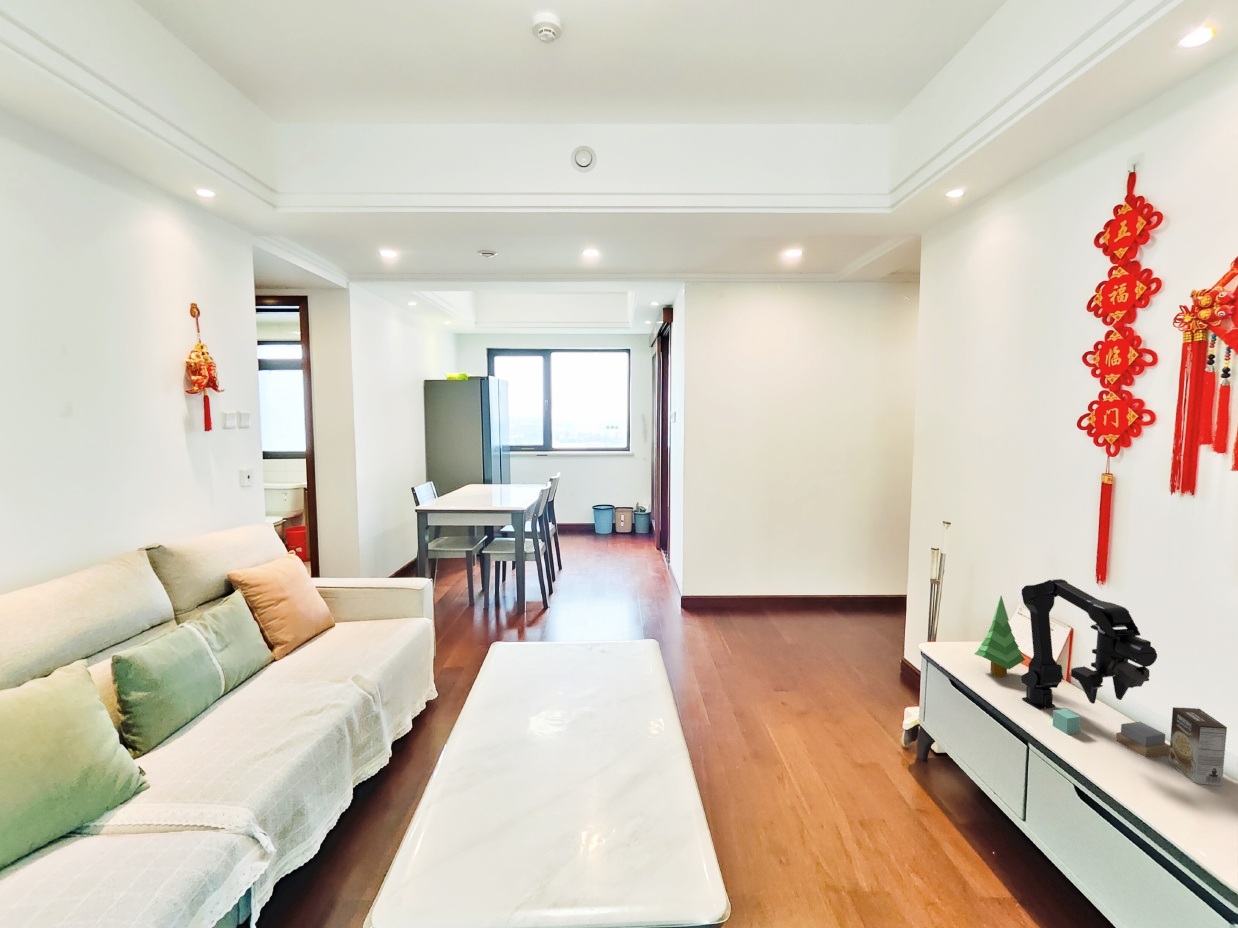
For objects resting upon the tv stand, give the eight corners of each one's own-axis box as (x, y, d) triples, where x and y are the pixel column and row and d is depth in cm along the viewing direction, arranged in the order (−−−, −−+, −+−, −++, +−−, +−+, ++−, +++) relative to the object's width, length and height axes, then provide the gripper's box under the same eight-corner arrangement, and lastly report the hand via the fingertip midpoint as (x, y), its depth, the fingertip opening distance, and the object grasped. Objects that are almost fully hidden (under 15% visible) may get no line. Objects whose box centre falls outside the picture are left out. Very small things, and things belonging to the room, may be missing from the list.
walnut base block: (1115, 742, 161) (1116, 732, 160) (1138, 739, 162) (1139, 729, 162) (1145, 759, 153) (1146, 748, 153) (1169, 755, 154) (1170, 745, 154)
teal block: (1052, 725, 169) (1053, 710, 169) (1065, 724, 170) (1065, 708, 169) (1066, 734, 165) (1067, 718, 164) (1079, 732, 165) (1080, 716, 165)
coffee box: (1167, 761, 151) (1170, 705, 149) (1194, 763, 150) (1198, 707, 148) (1194, 783, 142) (1198, 724, 140) (1224, 786, 141) (1228, 726, 139)
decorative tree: (965, 669, 206) (967, 591, 204) (996, 662, 211) (999, 586, 208) (1000, 686, 193) (1003, 603, 191) (1032, 678, 198) (1035, 597, 195)
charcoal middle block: (1120, 733, 160) (1121, 724, 160) (1139, 731, 161) (1140, 721, 161) (1145, 746, 153) (1145, 736, 153) (1164, 744, 154) (1165, 733, 154)
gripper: (1111, 666, 147) (1107, 721, 149) (1169, 658, 150) (1164, 712, 152) (1071, 648, 158) (1067, 699, 160) (1125, 641, 161) (1121, 691, 163)
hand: (1105, 700), depth 158 cm, fingers open, 9 cm apart
